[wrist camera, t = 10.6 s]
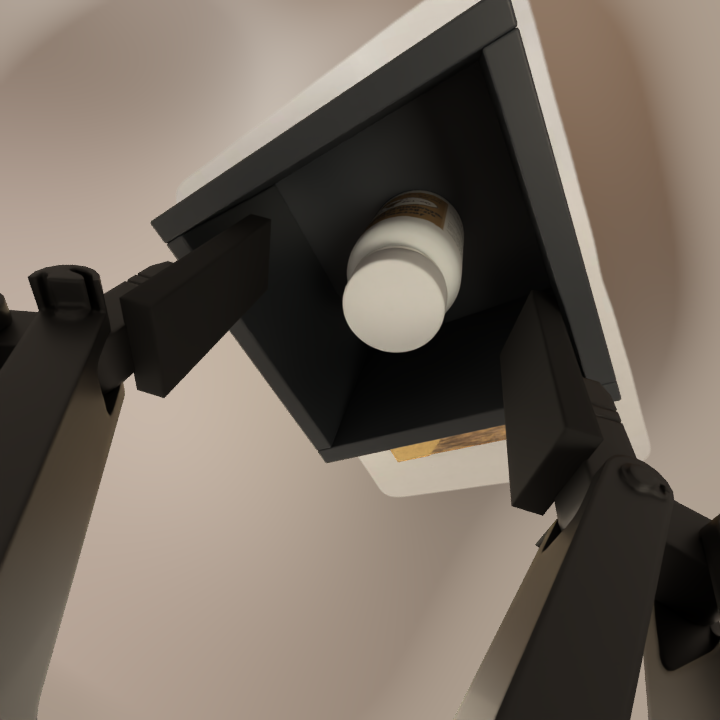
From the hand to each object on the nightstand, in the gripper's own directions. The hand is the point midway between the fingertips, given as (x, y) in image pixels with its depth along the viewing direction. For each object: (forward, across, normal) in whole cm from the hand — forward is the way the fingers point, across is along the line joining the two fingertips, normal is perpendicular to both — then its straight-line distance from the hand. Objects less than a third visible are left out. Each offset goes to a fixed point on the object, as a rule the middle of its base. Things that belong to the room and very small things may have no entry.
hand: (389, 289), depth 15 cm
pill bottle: (+7, 0, 0) cm, 7 cm away
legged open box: (+29, 0, 0) cm, 29 cm away
